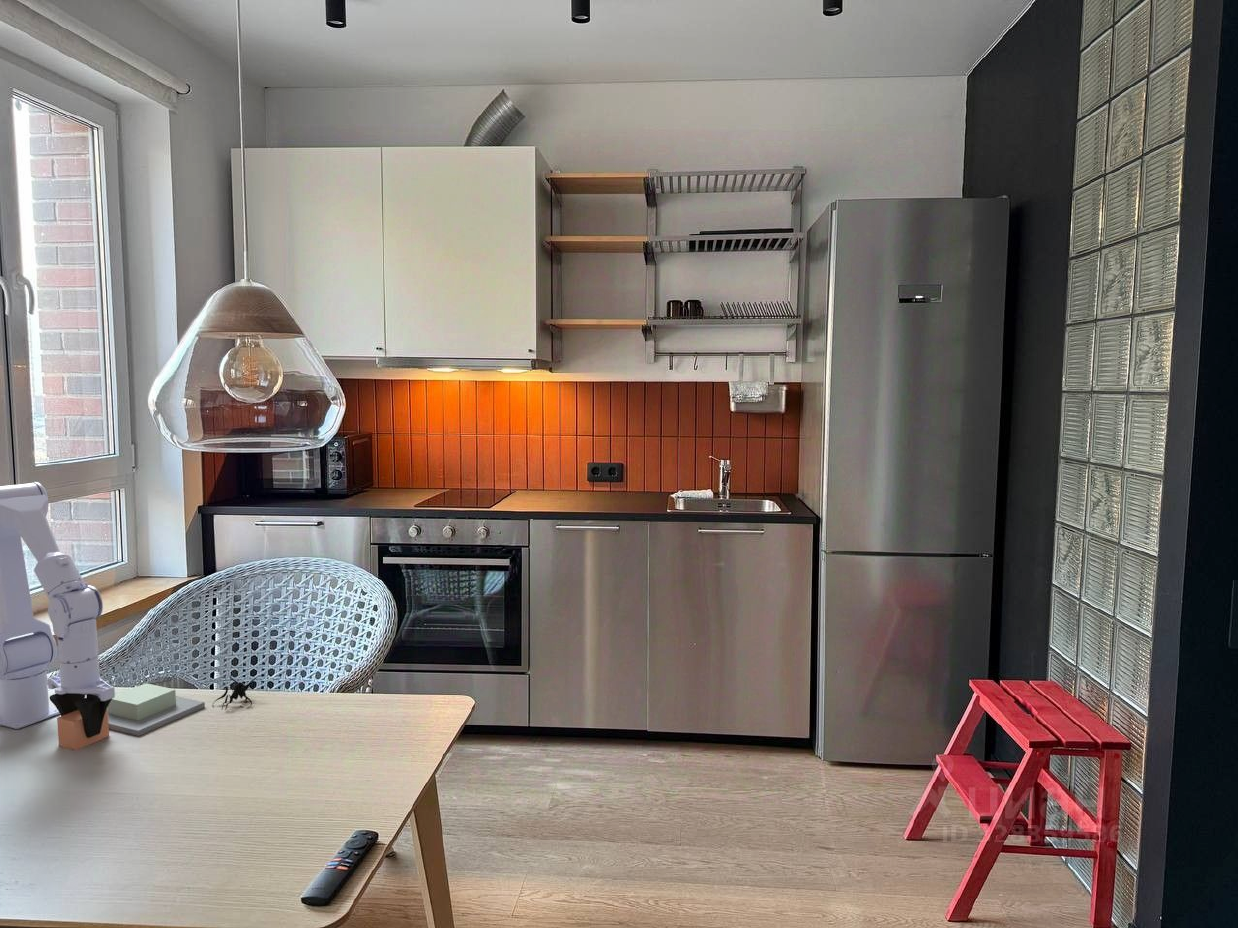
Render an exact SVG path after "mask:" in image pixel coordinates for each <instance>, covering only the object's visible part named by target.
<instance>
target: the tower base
mask: <svg viewBox="0 0 1238 928" xmlns="http://www.w3.org/2000/svg"><path fill="white" fill-rule="evenodd" d="M203 708H206V706H205V701H201V700H196V699H191V698H187V697H182V696H177V695H176V689H175V688H169V687H165V686H160V685H156V684H151V683H147V682H146V683H143V684H141V685H138V686H135V687H132V688H129V689H127V690H124V691H122V692H119V693H117V694H115V697H114V698H112V700H111V702H110V703H109V705H108V707H107V709H108V724H109V730H113V731H116V732H119V733H120V732H121V733H124V734H129V735H132V736H137V737H139V736H141V735H144V734H148V733H149V732H151V731H153V730H155V729H157V728H160V727H162V726H165V725H166V724H170V723H171V722H173V721H177V720H178V719H181V718H183V717H186V716H187V715H190V714H193V713H194V712H196V711H199V710H201V709H202V710H203Z"/></svg>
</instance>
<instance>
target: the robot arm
mask: <svg viewBox="0 0 1238 928" xmlns="http://www.w3.org/2000/svg"><path fill="white" fill-rule="evenodd" d="M48 512H49V495H48V492H47V489H46V488H45V487H44V486H43V485H42V484H41V483H40V482H38V481H31V482H30V483H22V484H11V485H1V486H0V726H4V727H8V728H11V729H14V730H15V729H16V730H18V729H19V730H20V729H22V728H25V727H27V726H30V725H33V724H35V723H38V722H41V721H43V720H47V719H49V718H51V717H54V716H56V715H60V717H61V716H63V715H66V714H69V713H71V712H74V711H76V710H79V712H80V714H81V717H82V720H83V725H84V731H85V734H86V737H88V738H90V737H93V736H95V735H98V734H100V732H101V727H102V723H103V719H104V715H105V712H106V710H107V707H108V705H109V703H110V702H111V700H112V698H114V697H115V695H116V694H115V693H116V692H115V686H113V685H110V684H109V683H107V682H106V681H105V680H104V679H102V678H101V677H100V663H99V647H98V646H99V645H98V630H97V628H98V627H97V619H98V618H100V617H101V615H102V614H103V610H104V604H103V603H104V602H103V599H102V596H101V593H100V591H99V589H97V588H96V586H93V585H91V583H90V582H88V581H85V580H84V579H83V577H82V575H81V573H80V571H79V569H78V568H77V566H76V564H75V563H74V561H73V559H72V557H71V556H70V554H67V553H63V552H61V551H60V549H59V547H58V544H57V542H56V538H55V536H54V533H53V532H52V529H51V527H50V524H49V521H48V520H47V515H48ZM22 540H23V542H24V544H25V545H26V546H27V548H28V549H29V551H30V553H31V554H32V555H33V557H34V558H35V559H36V561H37V563H36V565H35V567H34V568H33V571H34V574H35V575H36V577H37V580H38V581H39V583H40V585H41V587H42V589H43V590H44V592H45V595H46V596H47V598H48V600H49V602H48V607H47V613H48V617H49V620H50V623H51V625H52V628H51V625H50V624H48V622H45V621H42V620H40V619H37V618H35V617H34V616H35V615H34V611H33V604H32V597H31V592H30V586H29V579H28V573H27V569H26V568H27V566H26V563H25V556H24V555H25V553H24V549H23V545H22V544H23V543H22ZM54 636H56V637H57V641H56V639H55V637H54ZM16 637H17V638H16ZM12 638H13V639H12ZM57 654H58V663H59V667H58V668H59V674H56V675H53V676H51V677H48V674H47V672H48V671H47V670H48V669H50V668H51V664H52V663H54V661H55V660H56V657H57ZM49 690H54V694H52V695H49ZM50 701H51V704H53V705H54V706H55V708H56V709H55V708H52V707H51V708H50Z"/></svg>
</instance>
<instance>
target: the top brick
mask: <svg viewBox="0 0 1238 928" xmlns="http://www.w3.org/2000/svg"><path fill="white" fill-rule="evenodd" d="M56 723H57V724H56V725H57V738H58V747H59V746H60V747H63V748H66V749H71V750H75V751H77V750H80V749H82V748H84V747H87V746H89V745H91V744H94V743H96V742H98V741H100V740H103V739H106V738H107V737H110V729H109V724H108V709H107V710H106V712H105V715H104V719H103V723H102V727H101V732H100V734H98V735H95V736H93V737H90V738H88V737H86V734H85V731H84V725H83V720H82V717H81V714H80V712H79V710H76V711H74V712H71V713H69V714H66V715H63V716H61V715H60V716H57V717H56Z"/></svg>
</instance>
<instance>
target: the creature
mask: <svg viewBox="0 0 1238 928" xmlns="http://www.w3.org/2000/svg"><path fill="white" fill-rule="evenodd" d="M228 677H229V678H230V679H231V680H232V681H233V682H234V683H235V684H236V685H235V686H233V685H232V684H230V683H229V685H230V686H231V688H232V687H233V688H232V693H231V694H230V695H229V694H228V692H229V686H224V687H223V688H224V689H225V692H224V693H223V695H221V696H219V697H218V698H217V699H214V701H213V703H212V705H211V706H212V708H215V706H214V704H215V702H216V701H219V700H221V699H223V698H225V700H224V701H223V703H222V705H218V708H219V707H221V710H223V709H224V706H225V709H224V710H225V711H227V708H228V706H229V705H230V704H232V702H233V700H237V699H238V698H240V699H243V697H244V698H245V702H244V704H246V703H247V702H248V701H249V702H250V705H249V707H247V708H246V710H248V709H249V708H251V707H252V704H253V701H252V700H251V699H250V698H249V697H248V696H247V693H246V691H247V690H248V689H249V687H250V686H251V685H252V683H253V682H254V681H255V680H256V679H258V676H255V677H254V678H253V679H251V681H249V682H248V683H247V684H244V683H243V682H238V681H237V680H235V679H234V678H232V677H231V675H228ZM228 698H229V701H228ZM240 707H241V708H242V709H244V707H243V705H240Z"/></svg>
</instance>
